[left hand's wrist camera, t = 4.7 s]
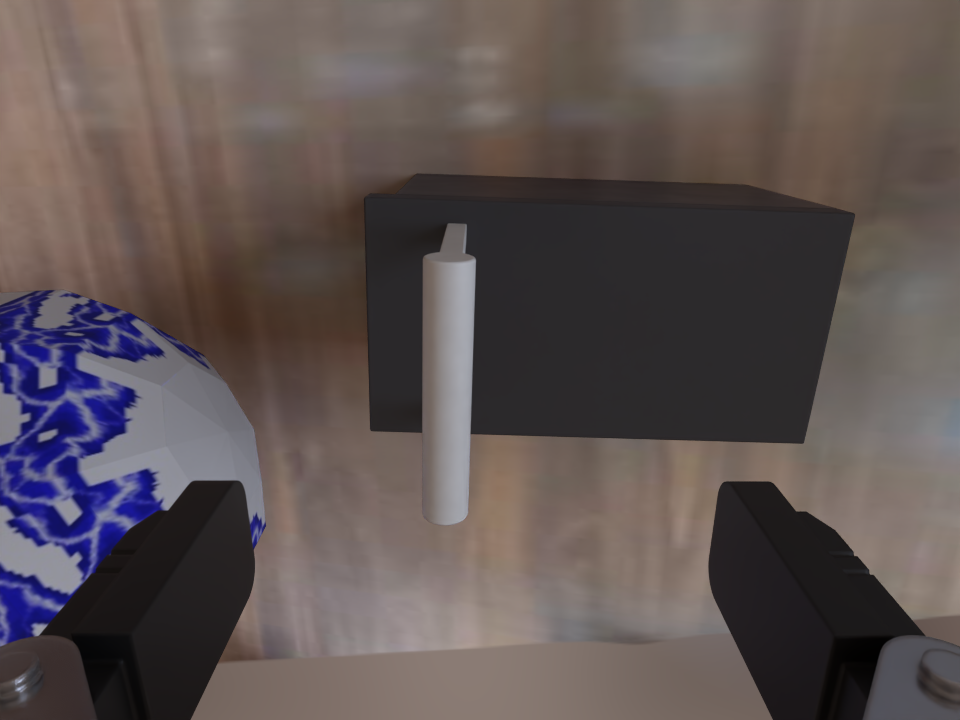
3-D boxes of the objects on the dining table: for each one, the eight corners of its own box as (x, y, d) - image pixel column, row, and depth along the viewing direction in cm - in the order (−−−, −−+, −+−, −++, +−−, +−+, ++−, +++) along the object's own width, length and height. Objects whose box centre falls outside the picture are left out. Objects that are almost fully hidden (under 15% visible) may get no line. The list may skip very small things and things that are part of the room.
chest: (416, 347, 37) (396, 419, 28) (416, 173, 34) (394, 193, 25) (718, 356, 37) (790, 430, 29) (747, 184, 34) (838, 208, 25)
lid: (374, 419, 28) (332, 542, 20) (369, 193, 25) (315, 231, 17) (791, 431, 29) (916, 558, 20) (839, 208, 25) (1011, 254, 17)
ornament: (344, 745, 28) (-52, 878, 30) (341, 410, 42) (75, 518, 45) (-98, 489, 15) (-723, 760, 17) (119, 135, 29) (-236, 309, 32)
